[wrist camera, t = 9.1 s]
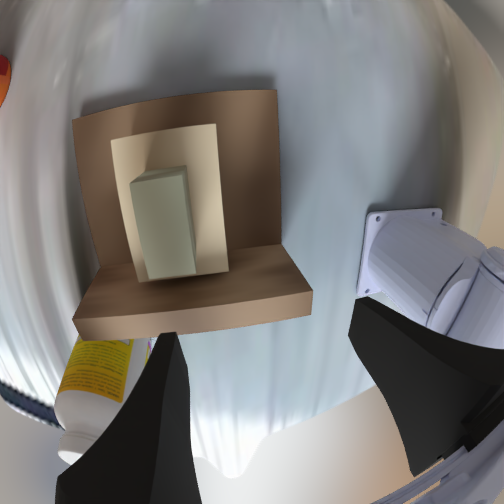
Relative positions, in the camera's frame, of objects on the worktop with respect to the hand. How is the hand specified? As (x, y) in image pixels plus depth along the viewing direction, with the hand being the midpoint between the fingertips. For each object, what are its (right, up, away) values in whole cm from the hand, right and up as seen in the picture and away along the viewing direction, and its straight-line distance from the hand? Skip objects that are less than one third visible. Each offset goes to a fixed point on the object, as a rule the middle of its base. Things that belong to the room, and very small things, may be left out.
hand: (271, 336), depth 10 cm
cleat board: (-6, +7, +7) cm, 12 cm away
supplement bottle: (-13, -4, +11) cm, 18 cm away
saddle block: (-5, +7, +6) cm, 11 cm away
